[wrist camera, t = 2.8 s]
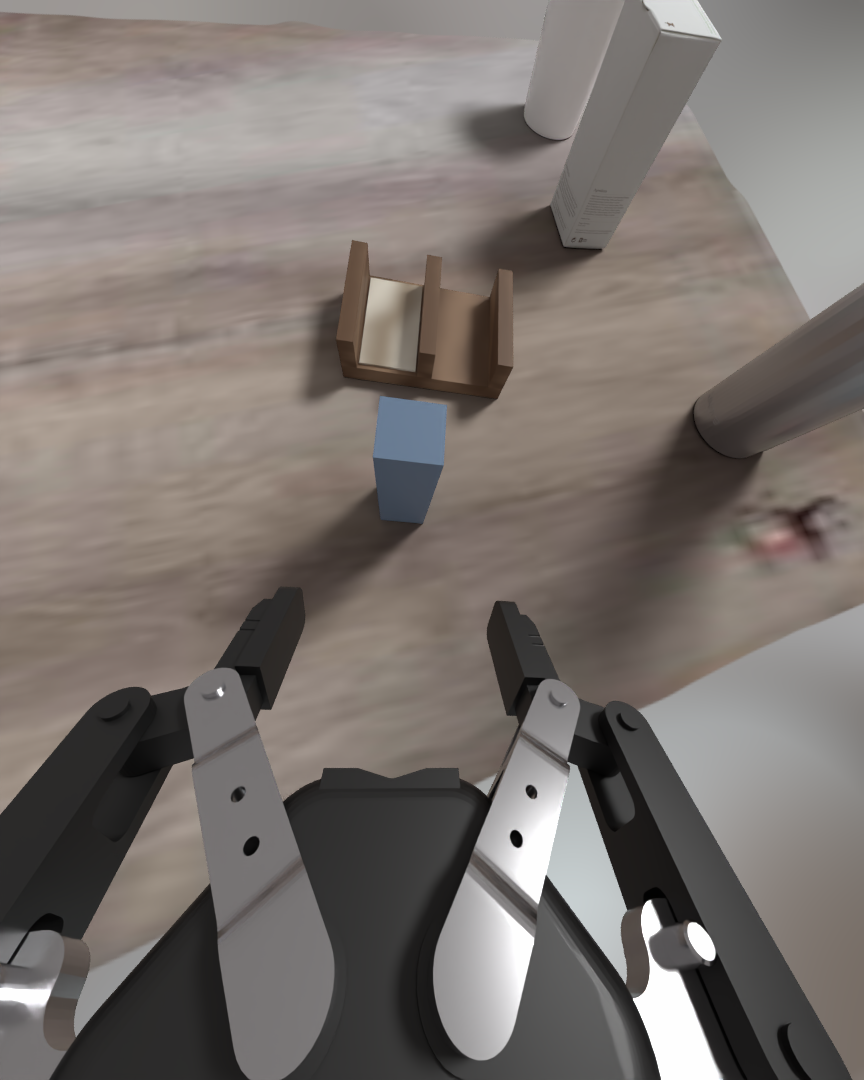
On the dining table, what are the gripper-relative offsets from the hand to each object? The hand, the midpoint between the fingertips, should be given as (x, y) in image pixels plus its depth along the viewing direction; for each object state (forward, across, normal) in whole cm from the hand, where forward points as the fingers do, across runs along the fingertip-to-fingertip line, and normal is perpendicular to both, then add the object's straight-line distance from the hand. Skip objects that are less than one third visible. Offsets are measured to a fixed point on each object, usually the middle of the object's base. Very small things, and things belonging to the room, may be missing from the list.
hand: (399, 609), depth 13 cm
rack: (+31, -1, -10) cm, 33 cm away
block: (+18, 0, +3) cm, 18 cm away
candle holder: (+62, -17, -41) cm, 77 cm away
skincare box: (+47, -20, -26) cm, 58 cm away
